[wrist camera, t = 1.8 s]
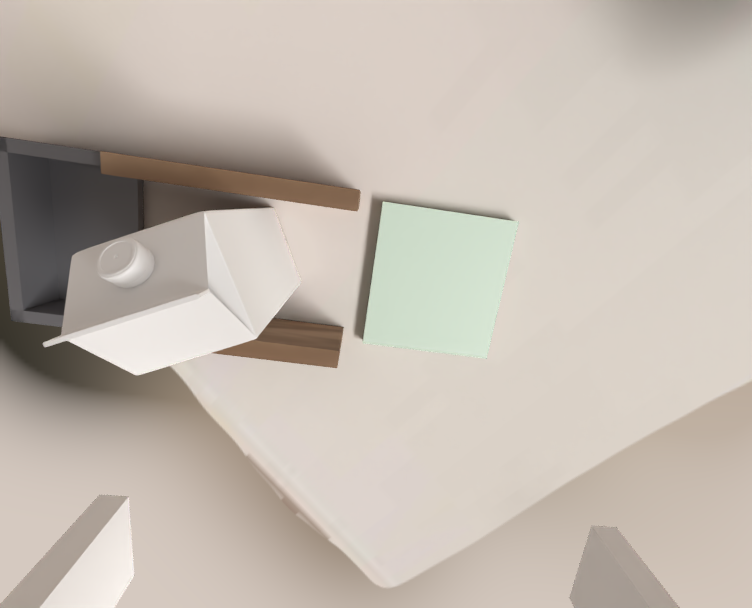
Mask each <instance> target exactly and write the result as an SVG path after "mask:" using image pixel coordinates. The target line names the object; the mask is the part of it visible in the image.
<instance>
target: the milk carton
mask: <svg viewBox="0 0 752 608" xmlns="http://www.w3.org/2000/svg"><path fill="white" fill-rule="evenodd" d="M300 284H301V279H300V277H299V274H298V271H297V269H296V266H295V263H294V260H293V258H292V255H291V252H290V250H289V247H288V244H287V242H286V239H285V236H284V234H283V231H282V228H281V226H280V223H279V220H278V217H277V215H276V212H275V209H274V208H273V207H268V208H248V209H228V210H210V211H201V212H197V213H194V214H190V215H187V216H184V217H181V218H178V219H175V220H172V221H169V222H166V223H162V224H159V225H156V226H153V227H150V228H147V229H144V230H141V231H138V232H135V233H132V234H129V235H126V236H123V237H120V238H117V239H114V240H111V241H108V242H105V243H102V244H99V245H96V246H93V247H90V248H87V249H85V250H82V251H79V252H77V253H75V254H74V255H72V259H71V266H70V273H69V281H68V288H67V295H66V303H65V310H64V318H63V325H62V333H61V335H60V336H58V337H56V338H53V339H51V340H49V341H47V342H44V343H43V345H44V347H47V346H51V345H54V344H57V343H60V342H63V341H69V342H71V343H73V344H75V345H77V346H79V347H81V348H83V349H85V350H87V351H89V352H91V353H93V354H95V355H97V356H99V357H101V358H103V359H105V360H107V361H109V362H111V363H113V364H115V365H117V366H119V367H121V368H122V369H125V370H127V371H128V372H131V373H132V374H134V375H140V374H144V373H147V372H151V371H154V370H157V369H161V368H164V367H167V366H170V365H174V364H177V363H180V362H183V361H187V360H190V359H193V358H196V357H200V356H203V355H206V354H209V353H213V352H216V351H219V350H222V349H226V348H229V347H232V346H235V345H239V344H242V343H245V342H248V341H251V340H254V339H256V338H257V337H258V336H259V335H260V333H261V332H262V331H263V330H264V328H265V327H266V326H267V325H268V323H269V322H270V321H271V320H272V318H273V317H274V316H275V315H276V313H277V312H278V311H279V310H280V308H281V307H282V306H283V305H284V304H285V302H286V301H287V300H288V299H289V297H290V296H291V295H292V294H293V292H294V291H295V290H296V289H297V287H298V286H299V285H300Z"/></svg>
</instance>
